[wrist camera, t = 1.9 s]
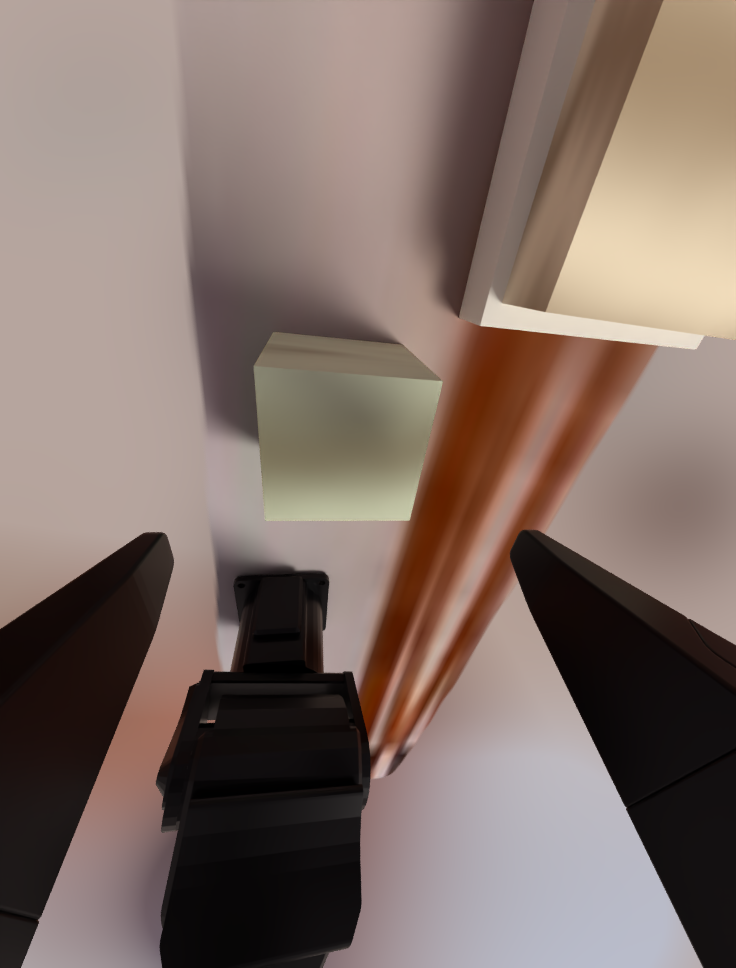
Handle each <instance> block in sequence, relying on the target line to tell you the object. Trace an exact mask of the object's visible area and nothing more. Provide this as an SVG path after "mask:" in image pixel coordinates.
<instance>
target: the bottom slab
mask: <svg viewBox="0 0 736 968" xmlns="http://www.w3.org/2000/svg"><path fill="white" fill-rule="evenodd" d="M594 3H595V0H534V3H533V7H532V11H531V15H530V20H529V24H528V28H527V32H526V37H525V41H524V45H523V49H522V53H521V58H520V62H519V66H518V70H517V74H516V79H515V83H514V87H513V91H512V96H511V100H510V104H509V108H508V112H507V117H506V121H505V125H504V129H503V133H502V138H501V142H500V146H499V150H498V154H497V159H496V163H495V167H494V171H493V176H492V180H491V184H490V188H489V192H488V197H487V201H486V205H485V209H484V213H483V218H482V222H481V226H480V230H479V235H478V239H477V243H476V247H475V251H474V256H473V260H472V264H471V268H470V272H469V277H468V281H467V285H466V289H465V293H464V298H463V302H462V306H461V310H460V315H459V318H461V319H463V320H466V321H469V322H472V323H474V324H477V325H480V326H488V327H497V328H506V329H515V330H524V331H533V332H542V333H551V334H560V335H569V336H578V337H587V338H596V339H605V340H614V341H623V342H632V343H641V344H650V345H659V346H668V347H678V348H687V349H695V350H696V348H697V347H698V345H699V344H700V342H701V341H702V339H703V337H704V336H705V335H698V334H691V333H684V332H677V331H671V330H664V329H657V328H650V327H643V326H636V325H630V324H623V323H616V322H609V321H602V320H595V319H588V318H582V317H575V316H568V315H561V314H554V313H547V312H542V311H537V310H532V309H527V308H523V307H518V306H513V305H508V304H503V303H502V300H503V297H504V294H505V291H506V288H507V284H508V281H509V278H510V275H511V271H512V268H513V265H514V262H515V258H516V255H517V252H518V249H519V245H520V242H521V239H522V236H523V233H524V229H525V226H526V223H527V220H528V216H529V213H530V210H531V207H532V203H533V200H534V197H535V194H536V190H537V187H538V184H539V181H540V178H541V174H542V171H543V168H544V165H545V161H546V158H547V155H548V152H549V148H550V145H551V142H552V139H553V135H554V132H555V129H556V126H557V123H558V119H559V116H560V113H561V110H562V106H563V103H564V100H565V97H566V93H567V90H568V87H569V84H570V80H571V77H572V74H573V71H574V68H575V64H576V61H577V58H578V55H579V51H580V48H581V45H582V42H583V38H584V35H585V32H586V29H587V25H588V22H589V19H590V16H591V13H592V9H593V6H594Z"/></svg>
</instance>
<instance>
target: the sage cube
mask: <svg viewBox="0 0 736 968" xmlns="http://www.w3.org/2000/svg"><path fill="white" fill-rule="evenodd" d="M254 378H255V392H256V405H257V419H258V432H259V446H260V459H261V473H262V486H263V500H264V514H265V521H409V520H410V516H411V512H412V508H413V504H414V500H415V495H416V491H417V487H418V483H419V479H420V475H421V471H422V466H423V462H424V458H425V454H426V450H427V446H428V441H429V437H430V433H431V429H432V425H433V421H434V416H435V412H436V408H437V404H438V400H439V396H440V391H441V387H442V383H443V381H442V380H441V379H440V378H439V377H438V376H437V375H435V374H434V373H433V372H432V371H431V370H430V369H429V368H428V367H427V366H426V365H424V364H423V363H422V362H421V361H420V360H419V359H418V358H417V357H416V356H415V355H413V354H412V353H411V352H410V351H409V350H408V349H407V348H406V347H405V346H404V345H401V344H391V343H381V342H371V341H361V340H351V339H341V338H331V337H321V336H311V335H301V334H291V333H281V332H273V333H272V335H271V337H270V339H269V340H268V342H267V344H266V346H265V347H264V349H263V351H262V352H261V354H260V356H259V358H258V359H257V361H256V363H255V364H254Z"/></svg>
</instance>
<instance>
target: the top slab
mask: <svg viewBox="0 0 736 968" xmlns="http://www.w3.org/2000/svg"><path fill="white" fill-rule="evenodd" d="M502 303H503V304H508V305H513V306H518V307H523V308H527V309H532V310H537V311H542V312H547V313H554V314H561V315H568V316H575V317H582V318H588V319H595V320H602V321H609V322H616V323H623V324H630V325H636V326H643V327H650V328H657V329H664V330H671V331H677V332H684V333H691V334H698V335H705V336H712V337H719V338H725V339H732V340H736V0H595V3H594V6H593V9H592V13H591V16H590V19H589V22H588V25H587V29H586V32H585V35H584V38H583V42H582V45H581V48H580V51H579V55H578V58H577V61H576V64H575V68H574V71H573V74H572V77H571V80H570V84H569V87H568V90H567V93H566V97H565V100H564V103H563V106H562V110H561V113H560V116H559V119H558V123H557V126H556V129H555V132H554V135H553V139H552V142H551V145H550V148H549V152H548V155H547V158H546V161H545V165H544V168H543V171H542V174H541V178H540V181H539V184H538V187H537V190H536V194H535V197H534V200H533V203H532V207H531V210H530V213H529V216H528V220H527V223H526V226H525V229H524V233H523V236H522V239H521V242H520V245H519V249H518V252H517V255H516V258H515V262H514V265H513V268H512V271H511V275H510V278H509V281H508V284H507V288H506V291H505V294H504V297H503V300H502Z"/></svg>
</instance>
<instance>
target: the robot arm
mask: <svg viewBox="0 0 736 968" xmlns="http://www.w3.org/2000/svg"><path fill="white" fill-rule="evenodd" d="M510 559H511V562H512V565H513V567H514V570H515V573H516V576H517V578H518V581H519V584H520V586H521V589H522V592H523V594H524V597H525V600H526V602H527V604H528V607H529V609H530V612H531V614H532V616H533V618H534V621H535V623H536V624H537V627H538V629H539V631H540V633H541V635H542V637H543V639H544V641H545V643H546V645H547V647H548V649H549V651H550V653H551V655H552V657H553V659H554V662H555V664H556V666H557V668H558V670H559V672H560V674H561V676H562V678H563V680H564V682H565V684H566V686H567V688H568V690H569V692H570V695H571V697H572V698H573V701H574V703H575V704H576V707H577V709H578V711H579V713H580V715H581V717H582V719H583V721H584V723H585V725H586V727H587V729H588V732H589V734H590V736H591V737H592V740H593V742H594V744H595V746H596V748H597V750H598V752H599V754H600V756H601V758H602V760H603V762H604V764H605V766H606V768H607V771H608V773H609V775H610V776H611V779H612V781H613V783H614V785H615V786H616V789H617V791H618V793H619V795H620V797H621V799H622V801H623V803H624V805H625V807H627V808H626V810H627V812H628V814H629V816H630V818H631V820H632V822H633V824H634V826H635V829H636V831H637V833H638V835H639V837H640V839H641V841H642V843H643V845H644V847H645V849H646V851H647V853H648V855H649V857H650V860H651V862H652V864H653V866H654V868H655V870H656V872H657V874H658V876H659V878H660V880H661V882H662V884H663V886H664V888H665V890H666V892H667V894H668V896H669V898H670V900H671V903H672V905H673V907H674V909H675V911H676V913H677V915H678V917H679V919H680V921H681V923H682V925H683V927H684V929H685V931H686V934H687V936H688V937H689V940H690V942H691V944H692V946H693V948H694V950H695V952H696V954H697V956H698V958H699V960H700V962H701V964H702V966H703V968H736V645H734V644H733V643H731V642H729V641H727V640H726V639H724V638H722V637H720V636H718V635H717V634H715V633H713V632H712V631H710V630H708V629H706V628H705V627H703V626H701V625H700V624H698V623H696V622H694V621H693V620H691V619H687V617H685V616H684V615H682V614H680V613H679V612H677V611H675V610H674V609H672V608H670V607H669V606H667V605H665V604H663V603H661V602H660V601H658V600H656V599H655V598H653V597H651V596H650V595H648V594H646V593H644V592H643V591H641V590H639V589H638V588H636V587H634V586H632V585H631V584H629V583H627V582H626V581H624V580H622V579H620V578H619V577H617V576H615V575H614V574H612V573H610V572H608V571H607V570H605V569H603V568H601V567H600V566H598V565H596V564H594V563H593V562H591V561H590V560H588V559H586V558H584V557H582V556H581V555H579V554H578V553H576V552H574V551H572V550H571V549H569V548H567V547H565V546H564V545H562V544H560V543H558V542H557V541H555V540H553V539H552V538H550V537H548V536H547V535H545V534H543V533H541V532H540V531H538V530H522V531H521V532H520V533H519V534H518V536H517V538H516V540H515V542H514V545H513V547H512V549H511V551H510ZM173 565H174V559H173V554H172V551H171V548H170V544H169V541H168V537H167V535H166V534H165V533H162V532H150V533H149V532H147V533H143V534H141V535H140V536H139V537H137V538H135V539H134V540H132V541H131V542H129V543H128V544H126V545H125V546H124V547H122V548H120V549H119V550H117V551H116V552H114V553H113V554H111V555H110V556H108V557H107V558H106V559H104V560H102V561H101V562H99V563H98V564H96V565H95V566H94V567H92V568H91V569H89V570H88V571H86V572H85V573H83V574H82V575H80V576H79V577H77V578H76V579H74V580H73V581H71V582H70V583H68V584H67V585H65V586H64V587H62V588H61V589H59V590H58V591H56V592H55V593H53V594H52V595H50V596H49V597H47V598H46V599H45V600H43V601H41V602H40V603H38V604H37V605H35V606H34V607H32V608H31V609H29V610H28V611H26V612H25V613H23V614H22V615H21V616H19V617H18V618H16V619H15V620H13V621H12V622H10V623H9V624H7V625H6V626H4V627H3V628H1V629H0V968H21V966H22V963H23V961H24V959H25V956H26V954H27V951H28V949H29V946H30V944H31V941H32V939H33V936H34V934H35V931H36V929H37V926H38V924H39V921H38V919H39V918H40V917H41V915H42V913H43V910H44V908H45V905H46V903H47V900H48V898H49V895H50V893H51V891H52V888H53V885H54V883H55V881H56V878H57V876H58V873H59V871H60V868H61V866H62V863H63V861H64V858H65V856H66V853H67V851H68V848H69V846H70V843H71V841H72V838H73V836H74V833H75V831H76V828H77V826H78V823H79V821H80V818H81V816H82V813H83V811H84V808H85V806H86V804H87V801H88V799H89V796H90V794H91V791H92V789H93V786H94V784H95V781H96V779H97V776H98V774H99V771H100V769H101V766H102V764H103V761H104V759H105V756H106V754H107V751H108V749H109V746H110V744H111V741H112V739H113V736H114V734H115V731H116V729H117V726H118V724H119V721H120V719H121V716H122V714H123V711H124V709H125V706H126V704H127V702H128V699H129V696H130V694H131V691H132V689H133V687H134V684H135V682H136V679H137V677H138V674H139V671H140V669H141V667H142V664H143V662H144V659H145V657H146V654H147V652H148V649H149V647H150V644H151V642H152V639H153V636H154V634H155V631H156V628H157V625H158V621H159V617H160V614H161V610H162V607H163V603H164V599H165V596H166V592H167V588H168V585H169V581H170V578H171V574H172V570H173ZM242 583H243V584H242ZM328 589H329V577H328V576H327V575H326V574H299V575H266V576H240V577H237V578H236V579H235V582H234V591H235V597H236V603H237V609H238V615H239V621H240V626H239V631H238V636H237V641H236V646H235V651H234V656H233V660H232V665H231V670H230V672H214V670H204V672H203V674H202V678H201V681H199V683H197V684H194V685H192V686H190V687H189V690H188V693H187V697H186V700H185V704H184V707H183V710H182V714H181V717H180V720H179V722H178V725H177V727H176V730H175V732H174V735H173V737H172V740H171V742H170V745H169V747H168V750H167V752H166V754H165V757H164V759H163V762H162V764H161V766H160V770H159V772H158V775H157V780H156V786H157V787H158V789H159V791H160V792H161V794H162V796H163V803H162V810H164V815H163V820H162V827H161V832H162V833H164V832H173V831H176V830H178V833H177V838H176V843H175V847H174V852H173V857H172V861H171V867H170V871H169V876H168V880H167V885H166V890H165V895H164V900H163V904H162V910H161V923H162V928H163V931H162V935H161V940H160V955H161V962H162V968H323V966H324V963H325V961H326V958H327V956H328V954H329V952H333V951H338V950H342V949H346V948H348V947H349V946H350V945H351V943H352V940H353V936H354V933H355V929H356V925H357V921H358V918H359V913H360V909H361V869H360V868H361V867H360V829H361V811H362V810H363V809H364V807H365V805H366V803H367V799H368V794H369V788H370V750H369V742H368V737H367V732H366V727H365V723H364V719H363V715H362V711H361V706H360V702H359V698H358V694H357V690H356V685H355V681H354V677H353V673H352V672H348V671H344V672H343V673H324V669H323V630H325V628H326V615H327V602H328ZM207 720H215V723H207Z"/></svg>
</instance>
